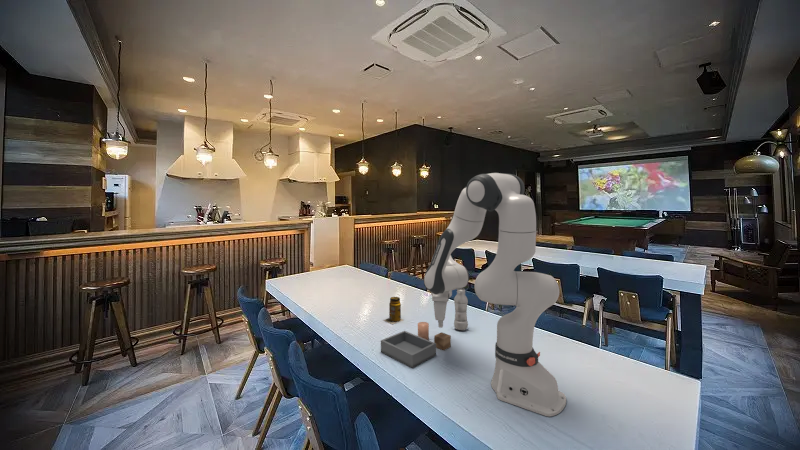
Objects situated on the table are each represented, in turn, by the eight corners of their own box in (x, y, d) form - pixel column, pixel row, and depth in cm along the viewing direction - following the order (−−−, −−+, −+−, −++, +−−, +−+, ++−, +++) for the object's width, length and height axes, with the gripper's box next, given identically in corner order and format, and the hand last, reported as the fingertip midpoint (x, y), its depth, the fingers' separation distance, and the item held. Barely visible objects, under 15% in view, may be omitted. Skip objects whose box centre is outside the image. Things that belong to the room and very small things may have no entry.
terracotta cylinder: (430, 338, 140) (431, 323, 139) (423, 342, 136) (423, 327, 136) (422, 335, 143) (422, 320, 143) (415, 338, 140) (415, 323, 139)
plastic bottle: (468, 332, 146) (468, 291, 145) (453, 331, 148) (453, 290, 146) (467, 327, 153) (468, 287, 151) (454, 326, 154) (454, 287, 153)
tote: (436, 355, 124) (436, 343, 124) (412, 368, 114) (412, 355, 114) (404, 341, 137) (404, 330, 137) (380, 352, 127) (380, 340, 127)
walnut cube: (450, 346, 132) (450, 335, 131) (443, 350, 128) (443, 339, 128) (441, 343, 135) (441, 332, 135) (434, 346, 132) (434, 335, 132)
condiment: (404, 320, 163) (404, 298, 162) (392, 324, 157) (392, 301, 156) (394, 316, 168) (394, 295, 167) (383, 320, 162) (382, 298, 161)
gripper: (436, 283, 141) (436, 312, 142) (431, 298, 121) (431, 332, 122) (450, 284, 140) (450, 313, 141) (447, 299, 120) (447, 333, 121)
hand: (441, 322), depth 132 cm, fingers open, 8 cm apart
